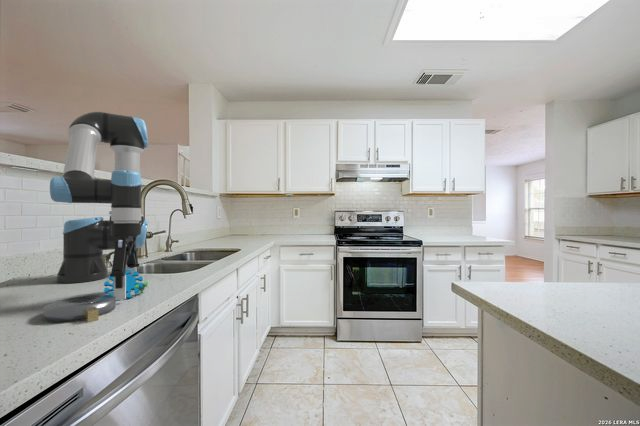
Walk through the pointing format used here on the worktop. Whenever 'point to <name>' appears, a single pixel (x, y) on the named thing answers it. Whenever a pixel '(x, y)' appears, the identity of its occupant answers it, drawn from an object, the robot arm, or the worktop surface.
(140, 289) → the gear
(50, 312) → the dark grey frying pan
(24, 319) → the worktop surface
